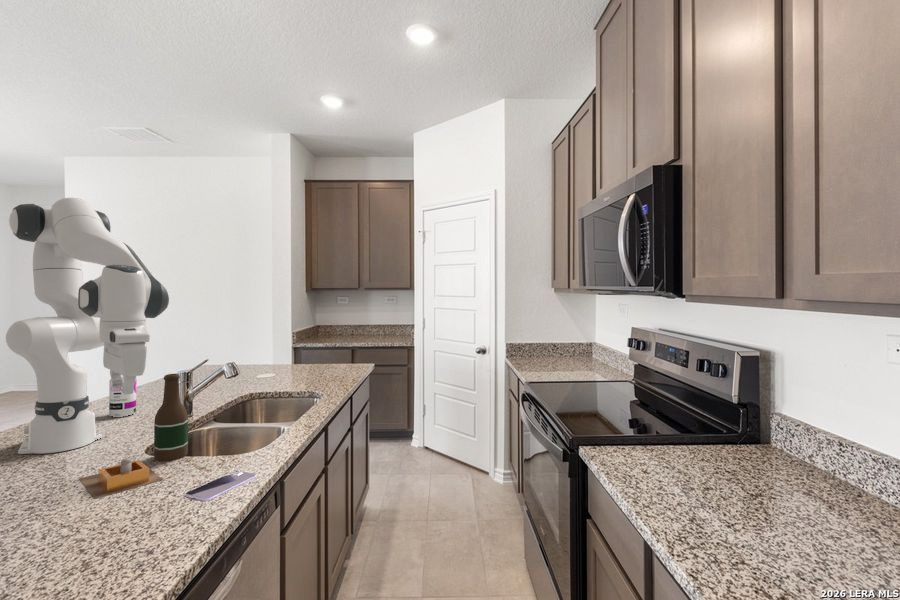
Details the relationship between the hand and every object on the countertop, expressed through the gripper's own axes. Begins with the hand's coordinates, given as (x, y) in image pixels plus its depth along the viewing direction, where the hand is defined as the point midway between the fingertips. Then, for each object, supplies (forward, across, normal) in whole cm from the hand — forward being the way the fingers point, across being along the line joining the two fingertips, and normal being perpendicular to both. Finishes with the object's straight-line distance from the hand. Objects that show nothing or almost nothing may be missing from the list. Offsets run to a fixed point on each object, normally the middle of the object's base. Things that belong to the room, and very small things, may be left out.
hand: (122, 390), depth 102 cm
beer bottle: (+23, -8, +13) cm, 28 cm away
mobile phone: (+23, +18, +16) cm, 33 cm away
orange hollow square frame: (+21, +2, 0) cm, 21 cm away
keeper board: (+23, 0, 0) cm, 23 cm away
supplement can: (+23, -73, +17) cm, 79 cm away
